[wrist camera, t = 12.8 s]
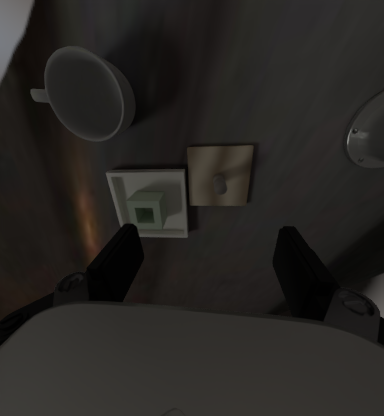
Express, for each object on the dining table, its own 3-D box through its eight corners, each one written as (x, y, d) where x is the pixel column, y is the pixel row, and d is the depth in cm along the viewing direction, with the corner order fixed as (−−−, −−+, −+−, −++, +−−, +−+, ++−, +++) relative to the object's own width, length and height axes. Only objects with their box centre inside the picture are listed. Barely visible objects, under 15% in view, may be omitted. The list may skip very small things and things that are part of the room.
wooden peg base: (252, 145, 31) (262, 151, 26) (245, 203, 37) (252, 219, 31) (187, 146, 32) (183, 153, 27) (190, 203, 38) (187, 218, 32)
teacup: (146, 75, 28) (125, 61, 21) (139, 143, 33) (120, 150, 26) (60, 48, 27) (8, 23, 20) (66, 122, 32) (26, 124, 25)
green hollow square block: (164, 191, 36) (158, 201, 32) (167, 217, 39) (162, 229, 35) (135, 191, 37) (126, 201, 32) (140, 216, 40) (132, 228, 35)
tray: (185, 168, 34) (183, 171, 32) (188, 232, 42) (187, 237, 40) (111, 169, 36) (105, 172, 34) (127, 231, 43) (123, 236, 41)
